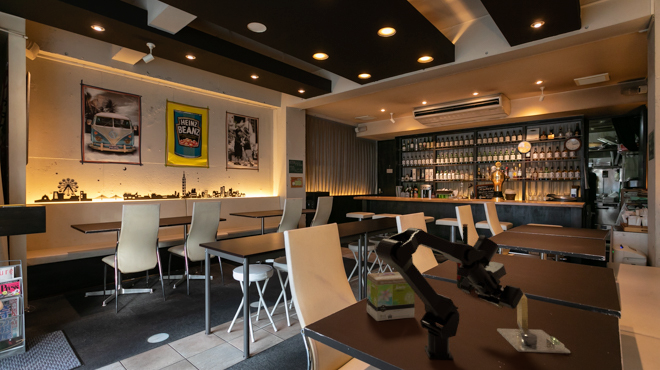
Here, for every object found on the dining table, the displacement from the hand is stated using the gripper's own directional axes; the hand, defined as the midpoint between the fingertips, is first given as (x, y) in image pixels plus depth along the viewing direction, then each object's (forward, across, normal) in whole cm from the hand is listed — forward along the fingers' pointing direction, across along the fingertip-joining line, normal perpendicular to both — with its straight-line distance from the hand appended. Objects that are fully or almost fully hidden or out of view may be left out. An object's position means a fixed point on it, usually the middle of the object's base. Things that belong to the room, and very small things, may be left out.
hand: (502, 306), depth 102 cm
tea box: (-8, +29, +22) cm, 38 cm away
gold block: (+9, -4, +2) cm, 10 cm away
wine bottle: (+27, +41, -15) cm, 52 cm away
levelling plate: (+9, -6, +3) cm, 12 cm away
